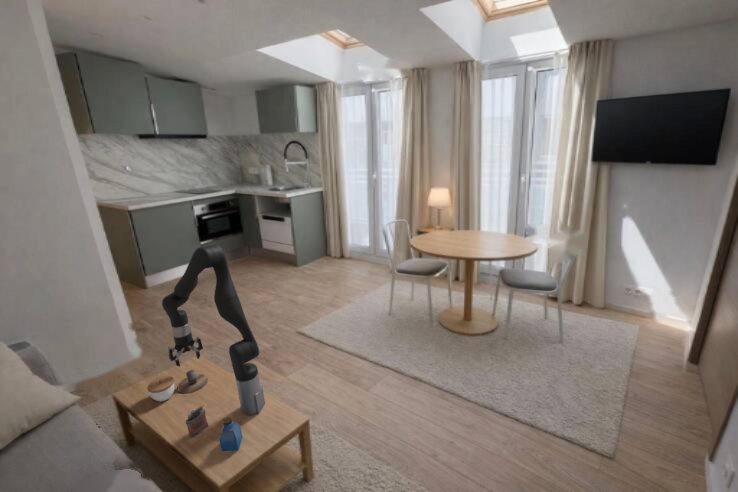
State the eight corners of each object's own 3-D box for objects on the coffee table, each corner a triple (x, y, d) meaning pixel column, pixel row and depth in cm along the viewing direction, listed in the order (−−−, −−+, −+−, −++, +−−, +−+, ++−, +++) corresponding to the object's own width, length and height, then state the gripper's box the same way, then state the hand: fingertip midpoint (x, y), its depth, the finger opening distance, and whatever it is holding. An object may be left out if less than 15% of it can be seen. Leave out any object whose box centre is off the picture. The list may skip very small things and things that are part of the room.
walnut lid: (213, 376, 181) (210, 364, 179) (197, 394, 169) (194, 382, 166) (189, 374, 183) (187, 363, 181) (172, 392, 171) (169, 380, 169)
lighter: (192, 439, 144) (187, 419, 141) (187, 435, 145) (182, 415, 142) (210, 425, 150) (205, 406, 147) (205, 422, 152) (200, 403, 149)
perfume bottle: (226, 438, 143) (221, 414, 139) (242, 437, 144) (237, 413, 140) (222, 452, 137) (216, 427, 134) (238, 450, 138) (233, 425, 134)
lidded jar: (181, 389, 172) (177, 372, 169) (167, 405, 162) (163, 388, 159) (160, 388, 173) (156, 372, 171) (145, 404, 163) (140, 387, 160)
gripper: (195, 323, 174) (201, 352, 179) (163, 334, 166) (170, 364, 171) (200, 329, 169) (206, 359, 174) (167, 341, 160) (174, 372, 165)
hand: (188, 361), depth 172 cm, fingers open, 8 cm apart
